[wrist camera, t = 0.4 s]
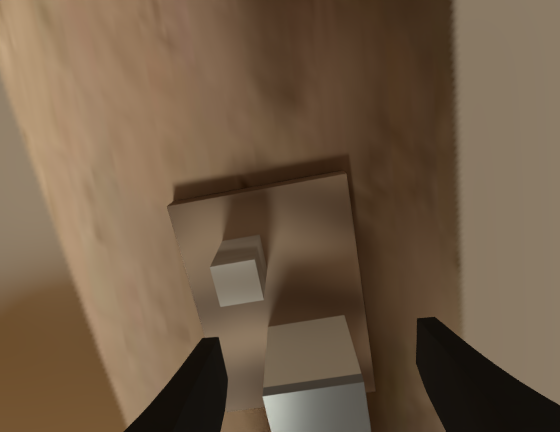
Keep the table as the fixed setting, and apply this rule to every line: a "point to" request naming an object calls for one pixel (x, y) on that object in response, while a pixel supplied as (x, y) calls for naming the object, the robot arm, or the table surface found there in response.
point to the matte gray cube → (314, 378)
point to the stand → (271, 270)
